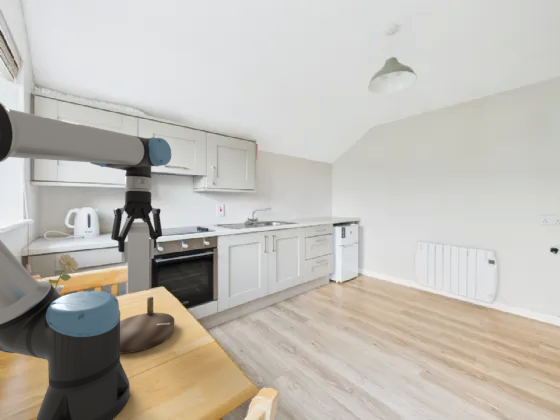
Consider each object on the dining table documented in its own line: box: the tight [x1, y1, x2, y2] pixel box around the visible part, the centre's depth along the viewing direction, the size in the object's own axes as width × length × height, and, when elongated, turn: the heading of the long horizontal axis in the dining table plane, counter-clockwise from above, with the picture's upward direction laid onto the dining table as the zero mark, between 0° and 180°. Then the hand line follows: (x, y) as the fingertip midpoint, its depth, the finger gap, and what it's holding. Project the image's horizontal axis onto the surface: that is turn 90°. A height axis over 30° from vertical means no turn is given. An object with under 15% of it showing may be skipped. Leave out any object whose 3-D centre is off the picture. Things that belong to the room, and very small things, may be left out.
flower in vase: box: [48, 253, 79, 295], centre depth 86 cm, size 13×11×25 cm
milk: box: [126, 221, 150, 294], centre depth 80 cm, size 6×6×22 cm
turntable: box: [120, 296, 175, 354], centre depth 80 cm, size 20×20×9 cm
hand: (138, 259), depth 80 cm, fingers closed on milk, 7 cm apart
